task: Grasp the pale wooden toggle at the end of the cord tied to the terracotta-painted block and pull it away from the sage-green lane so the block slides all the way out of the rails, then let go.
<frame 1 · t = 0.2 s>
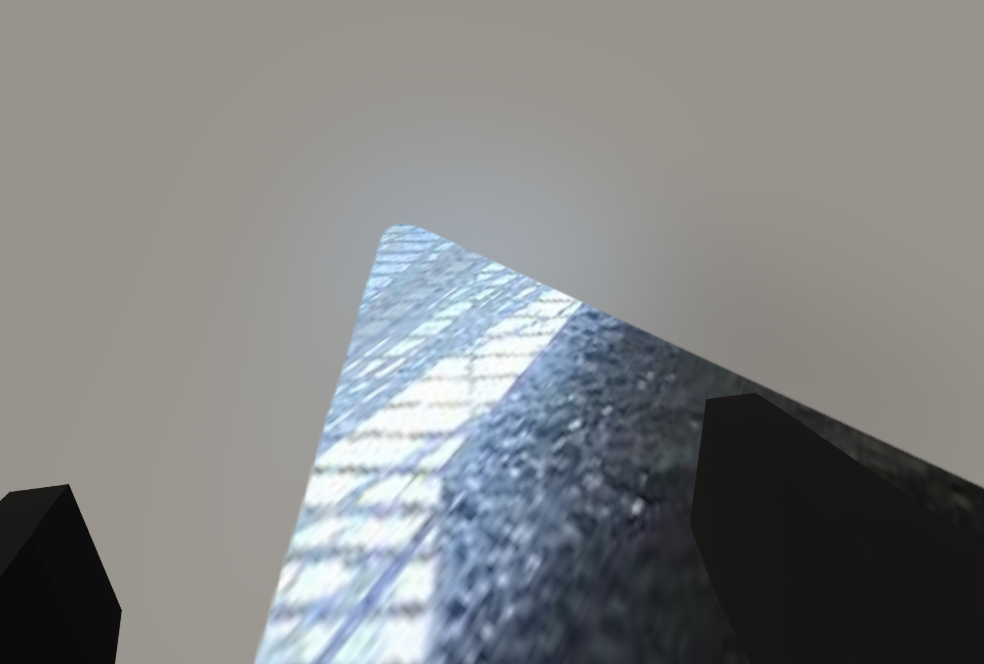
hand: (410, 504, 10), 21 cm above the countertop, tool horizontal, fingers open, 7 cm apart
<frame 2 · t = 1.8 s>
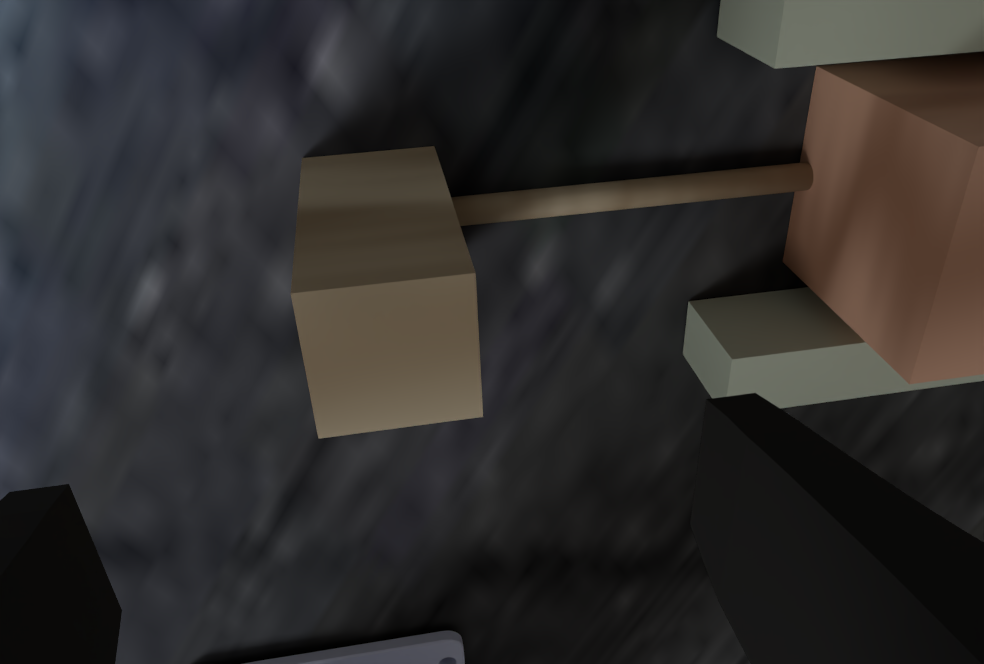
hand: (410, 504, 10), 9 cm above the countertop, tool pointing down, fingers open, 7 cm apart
corded block: (893, 161, 18), on the countertop
lane: (915, 159, 18), on the countertop
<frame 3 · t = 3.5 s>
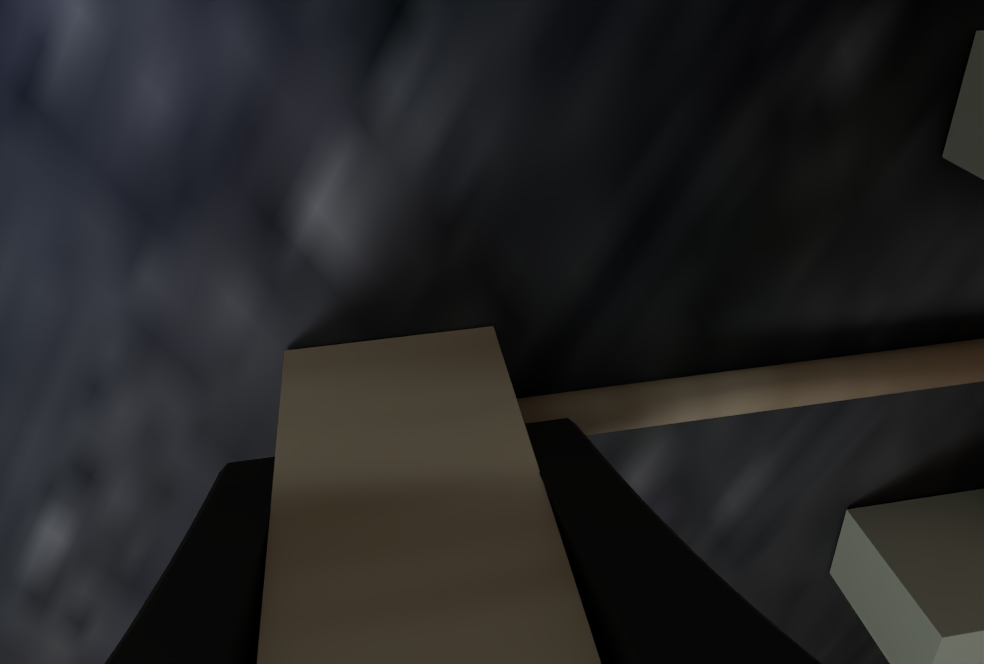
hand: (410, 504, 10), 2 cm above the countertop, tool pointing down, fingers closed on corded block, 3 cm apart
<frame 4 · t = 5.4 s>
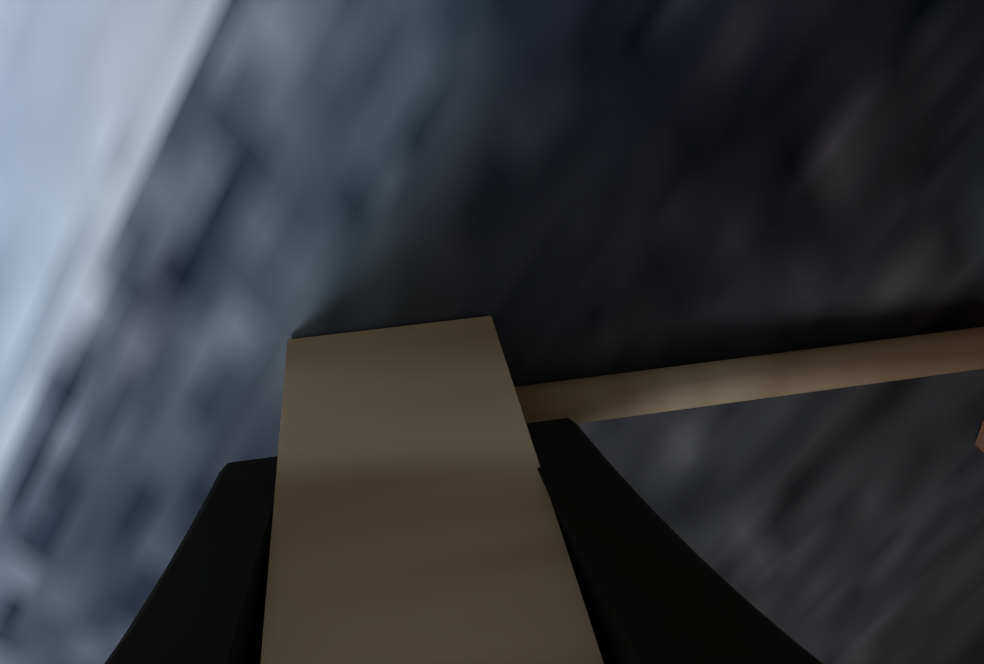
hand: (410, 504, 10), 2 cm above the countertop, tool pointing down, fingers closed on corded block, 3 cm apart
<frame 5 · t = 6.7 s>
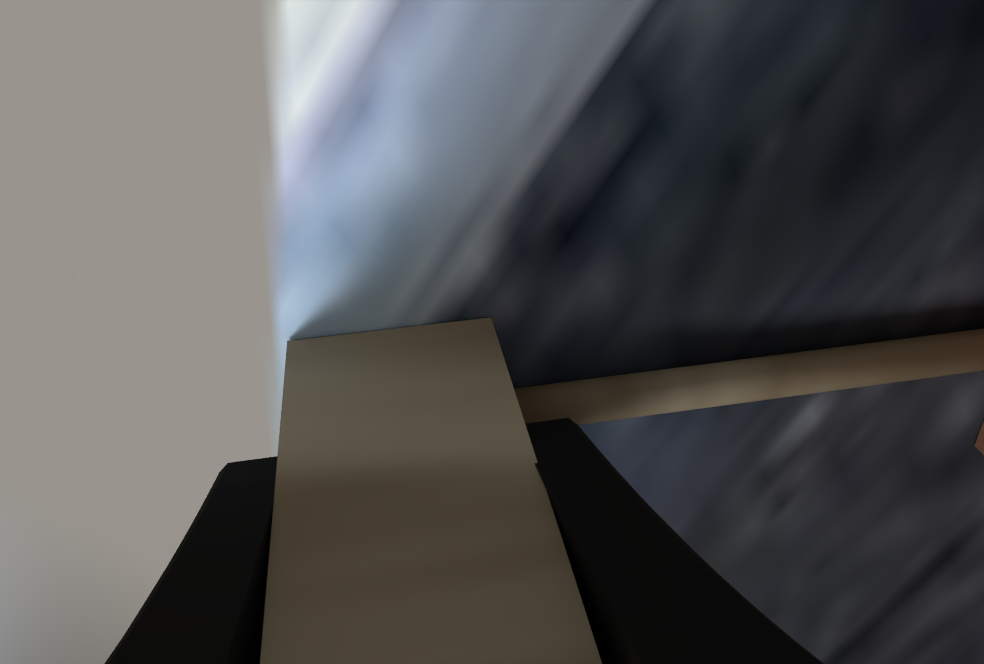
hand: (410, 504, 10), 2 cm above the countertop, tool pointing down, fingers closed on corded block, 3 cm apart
when the fingers open (2 cm above the countertop, at t = 7.2 s): corded block stays where it is, on the countertop.
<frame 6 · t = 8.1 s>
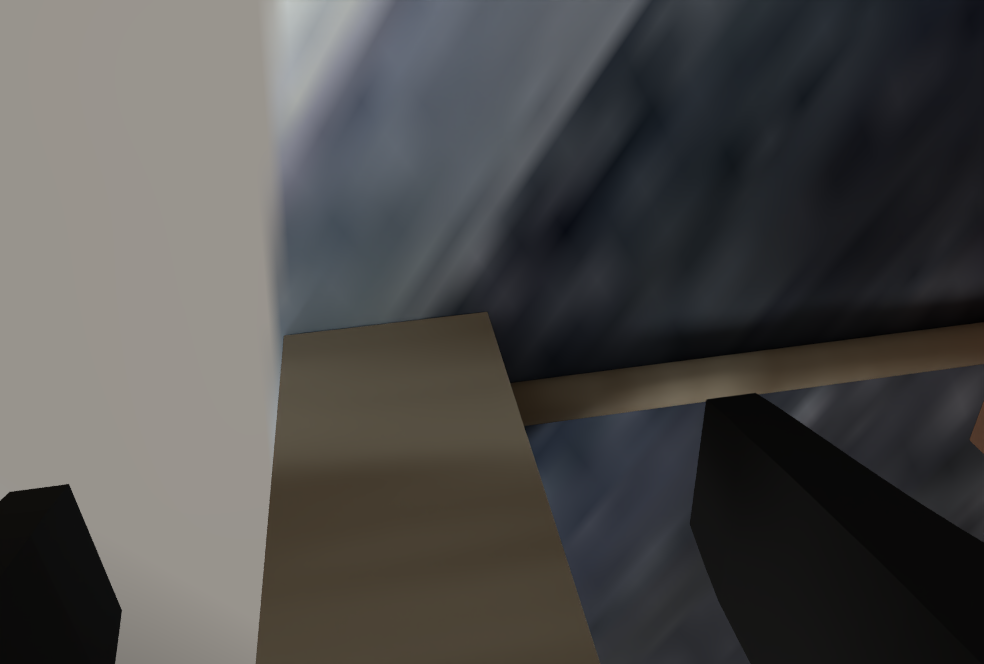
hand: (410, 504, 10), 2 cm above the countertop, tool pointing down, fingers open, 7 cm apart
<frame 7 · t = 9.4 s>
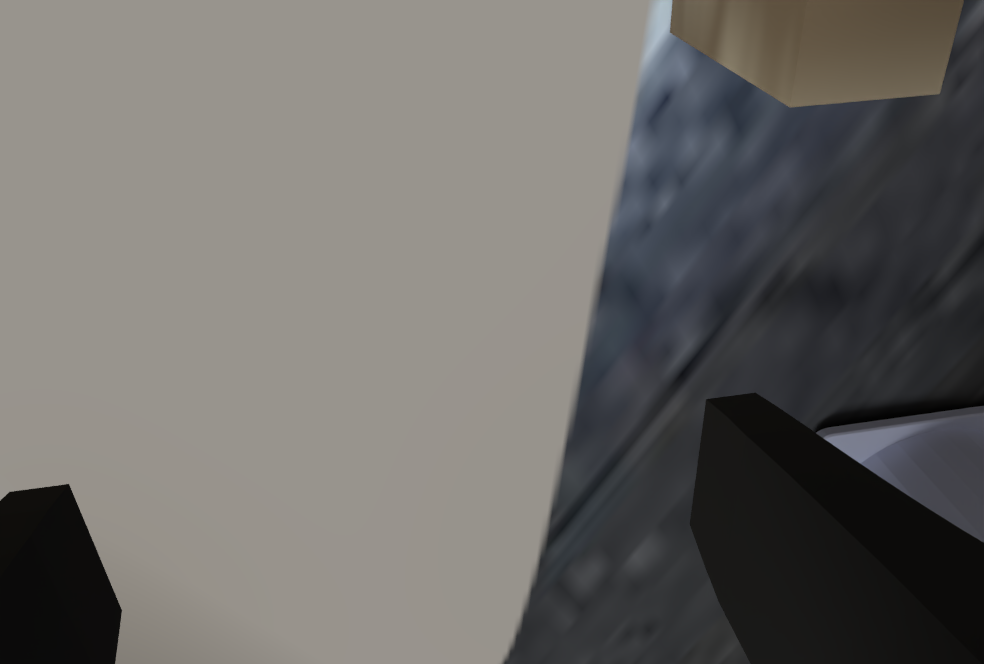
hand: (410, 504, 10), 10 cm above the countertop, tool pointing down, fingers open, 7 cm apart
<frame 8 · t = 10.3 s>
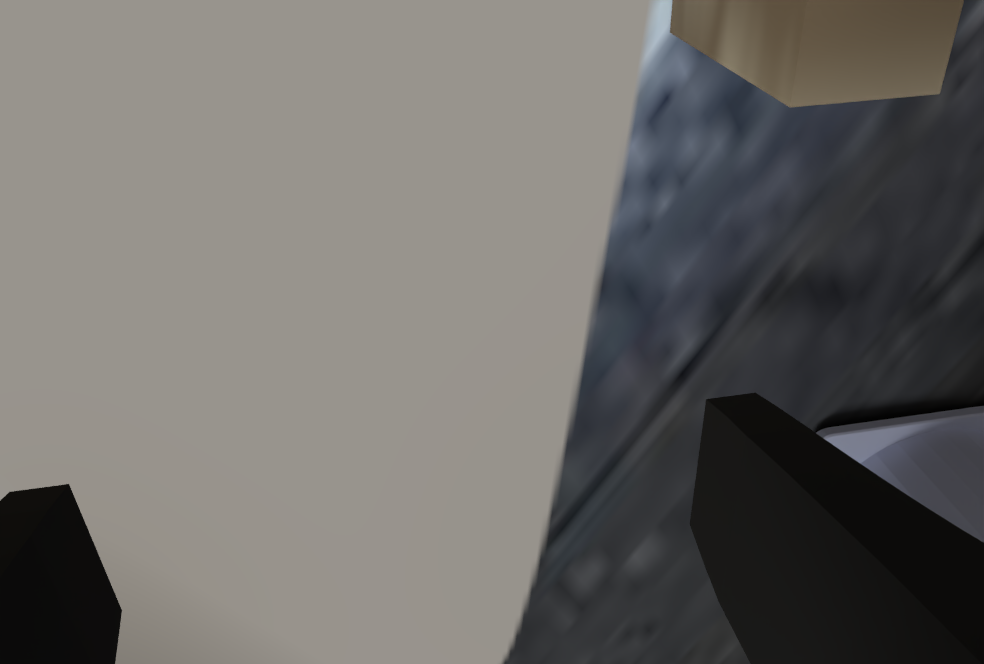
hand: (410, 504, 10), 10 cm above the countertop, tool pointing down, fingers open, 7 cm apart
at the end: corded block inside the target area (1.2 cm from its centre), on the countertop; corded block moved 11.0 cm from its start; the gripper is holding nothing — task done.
